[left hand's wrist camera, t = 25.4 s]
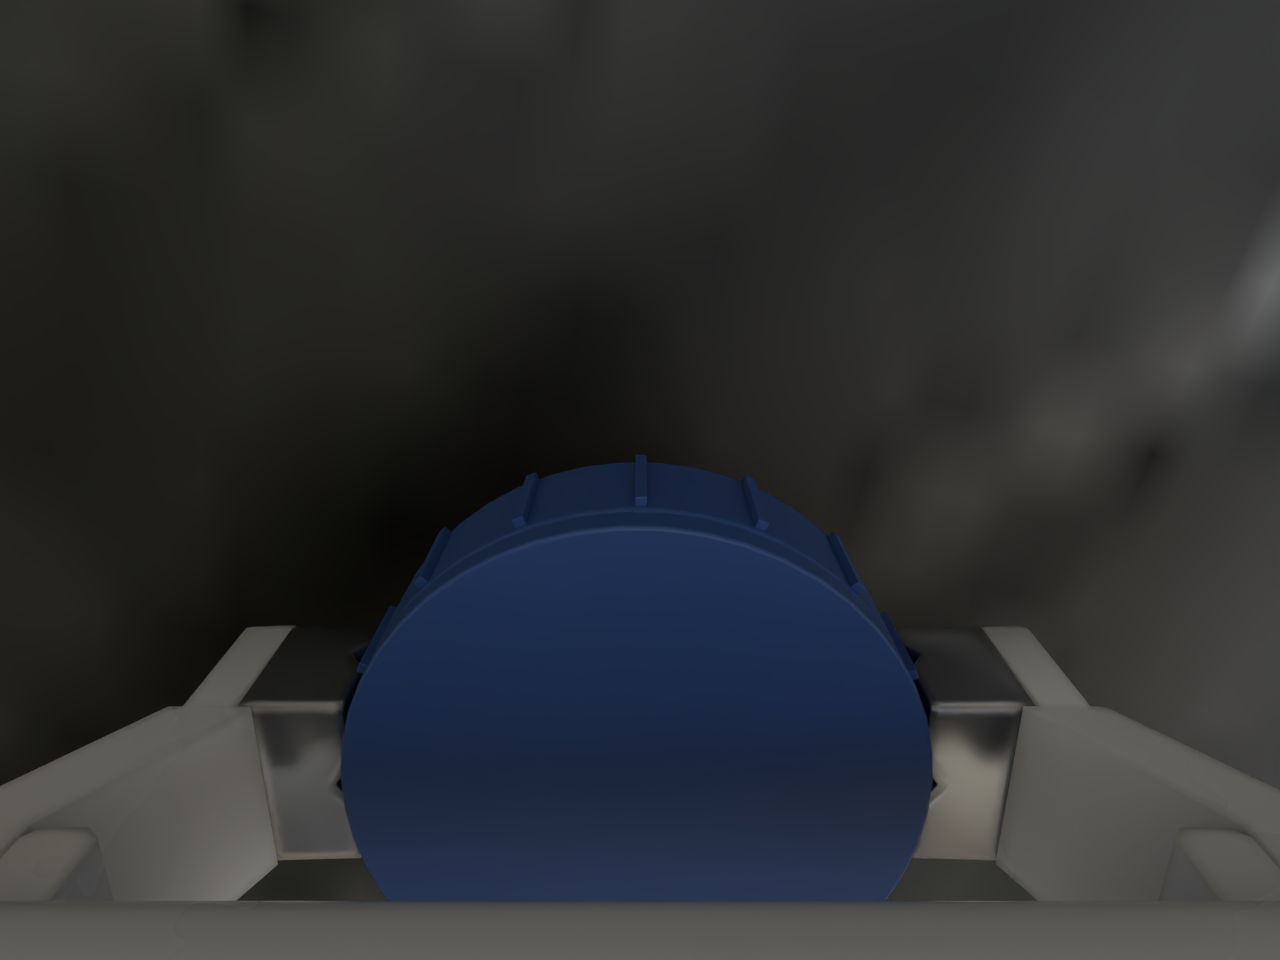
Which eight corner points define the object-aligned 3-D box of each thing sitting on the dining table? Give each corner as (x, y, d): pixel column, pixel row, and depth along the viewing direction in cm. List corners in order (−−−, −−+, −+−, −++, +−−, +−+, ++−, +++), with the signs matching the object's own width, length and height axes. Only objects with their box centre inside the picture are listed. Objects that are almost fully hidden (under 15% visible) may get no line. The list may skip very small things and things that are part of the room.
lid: (294, 748, 10) (231, 858, 9) (561, 347, 9) (544, 394, 7) (694, 958, 11) (703, 1089, 10) (998, 637, 10) (1066, 733, 8)
